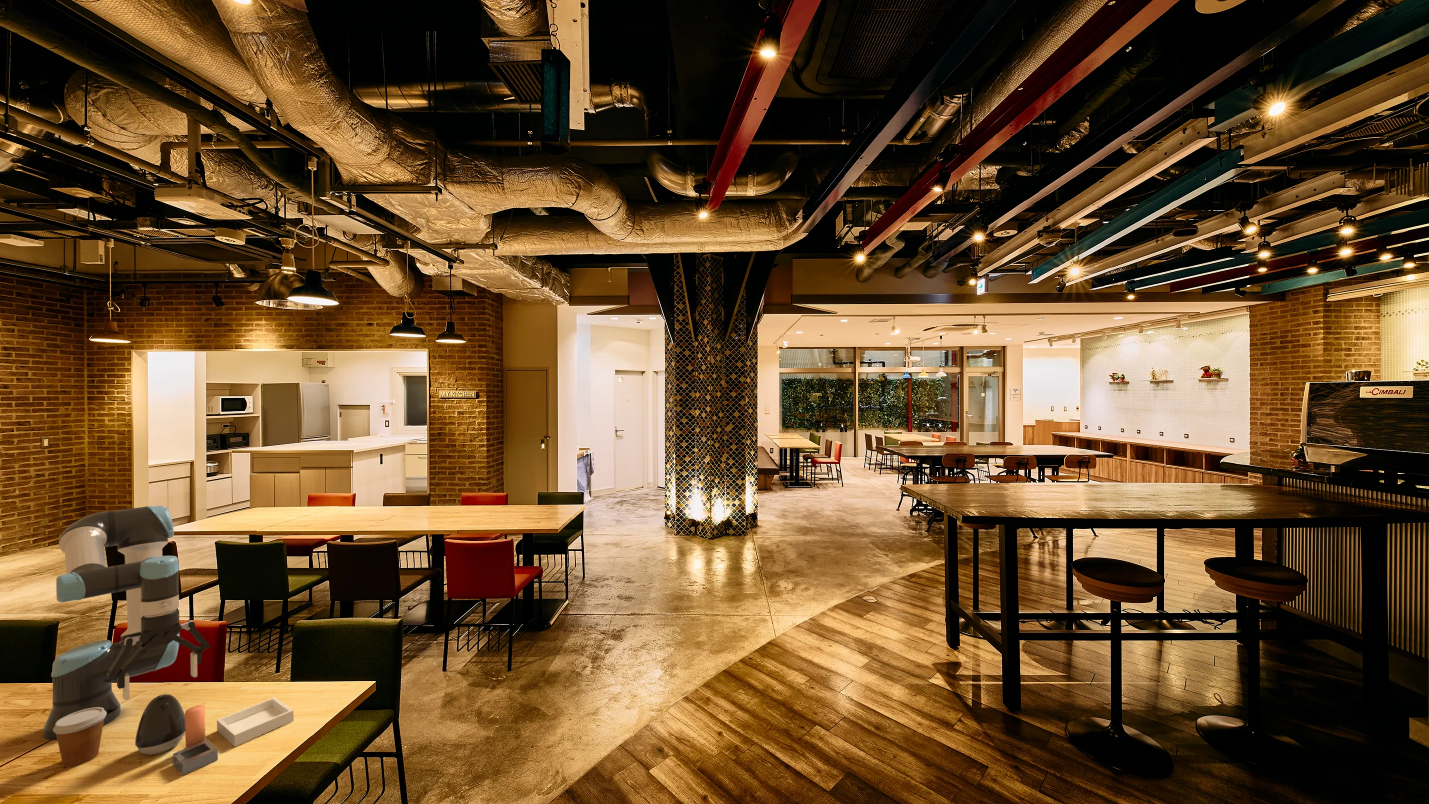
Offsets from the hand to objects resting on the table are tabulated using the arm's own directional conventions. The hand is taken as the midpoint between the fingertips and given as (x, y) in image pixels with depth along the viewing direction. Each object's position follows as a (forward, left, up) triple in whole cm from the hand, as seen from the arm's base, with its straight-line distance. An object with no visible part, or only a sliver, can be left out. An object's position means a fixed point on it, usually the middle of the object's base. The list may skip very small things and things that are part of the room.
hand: (161, 686), depth 149 cm
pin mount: (+16, +3, -18) cm, 24 cm away
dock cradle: (+10, +18, -18) cm, 27 cm away
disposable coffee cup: (-13, -13, -18) cm, 26 cm away
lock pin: (+8, +5, -17) cm, 20 cm away
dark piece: (0, 0, -18) cm, 18 cm away
